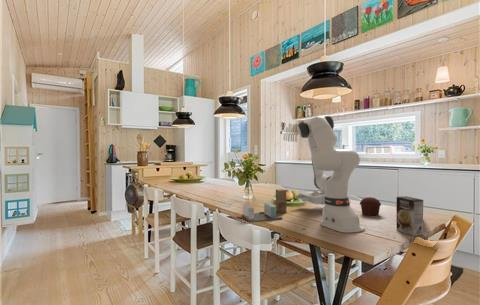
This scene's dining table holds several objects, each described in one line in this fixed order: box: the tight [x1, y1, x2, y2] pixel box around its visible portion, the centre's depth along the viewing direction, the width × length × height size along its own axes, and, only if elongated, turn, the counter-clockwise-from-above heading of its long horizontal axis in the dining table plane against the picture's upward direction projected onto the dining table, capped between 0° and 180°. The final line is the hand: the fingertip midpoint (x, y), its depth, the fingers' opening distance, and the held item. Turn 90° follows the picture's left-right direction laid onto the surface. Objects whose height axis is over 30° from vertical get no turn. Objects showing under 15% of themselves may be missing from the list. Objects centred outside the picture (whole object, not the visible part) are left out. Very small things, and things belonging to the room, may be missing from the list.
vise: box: [241, 203, 283, 223], centre depth 156 cm, size 16×20×7 cm
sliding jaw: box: [263, 202, 277, 218], centre depth 157 cm, size 12×3×6 cm, turn 14°
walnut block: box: [275, 188, 287, 214], centre depth 167 cm, size 5×5×14 cm
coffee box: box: [396, 195, 424, 237], centre depth 124 cm, size 9×6×16 cm
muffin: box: [359, 196, 382, 217], centre depth 158 cm, size 12×11×10 cm
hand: (298, 198), depth 170 cm, fingers open, 8 cm apart
